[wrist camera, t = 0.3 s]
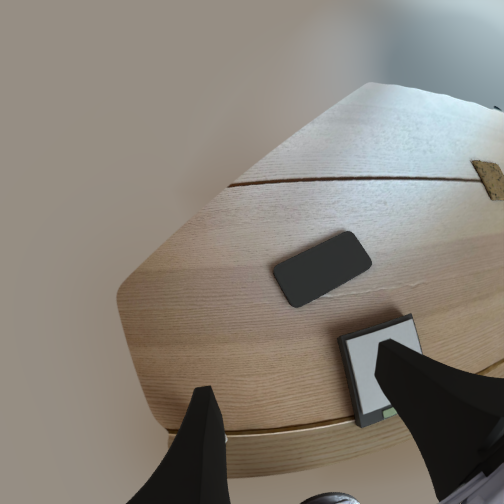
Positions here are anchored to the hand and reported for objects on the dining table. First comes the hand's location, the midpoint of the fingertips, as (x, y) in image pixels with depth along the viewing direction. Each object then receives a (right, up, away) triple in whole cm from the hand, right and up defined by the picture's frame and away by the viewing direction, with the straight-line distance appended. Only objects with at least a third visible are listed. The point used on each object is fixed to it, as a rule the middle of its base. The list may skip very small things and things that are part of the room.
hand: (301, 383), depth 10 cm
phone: (+9, +3, +33) cm, 34 cm away
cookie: (+60, +23, +39) cm, 75 cm away
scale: (+18, -12, +25) cm, 33 cm away
